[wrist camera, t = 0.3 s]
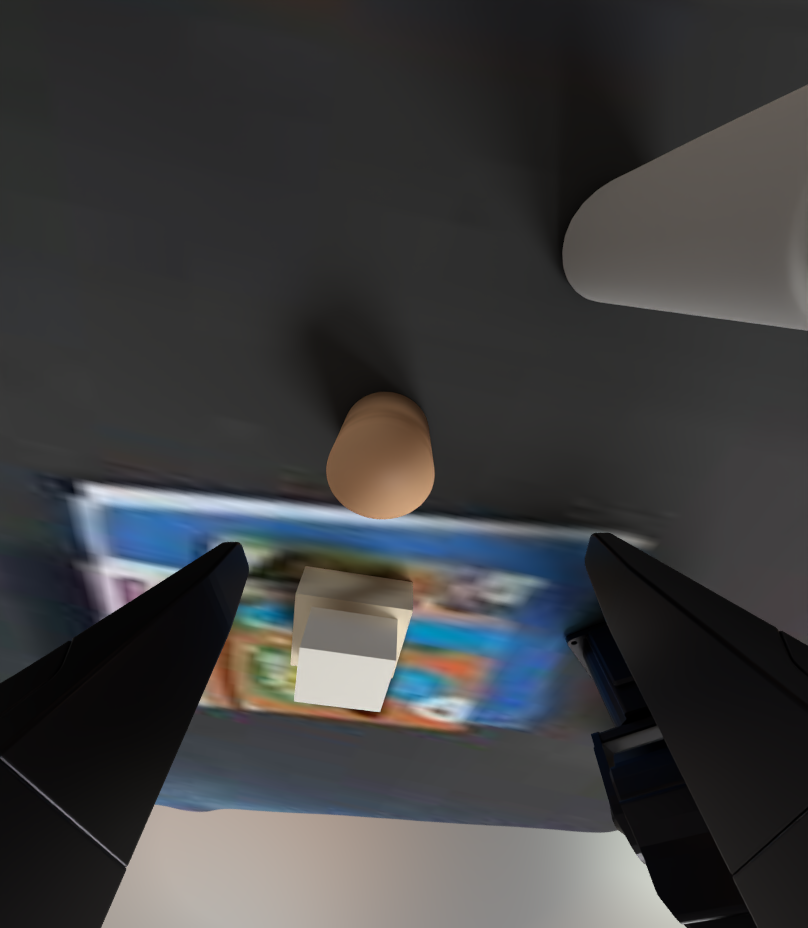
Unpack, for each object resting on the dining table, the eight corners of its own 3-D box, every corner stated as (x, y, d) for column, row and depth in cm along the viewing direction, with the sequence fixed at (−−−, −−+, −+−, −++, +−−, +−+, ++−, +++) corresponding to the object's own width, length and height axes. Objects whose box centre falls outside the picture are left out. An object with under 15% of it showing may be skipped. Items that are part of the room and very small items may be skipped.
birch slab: (412, 577, 27) (412, 610, 24) (393, 643, 30) (392, 678, 28) (307, 561, 26) (295, 593, 23) (301, 630, 30) (290, 664, 27)
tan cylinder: (444, 443, 21) (454, 488, 17) (377, 483, 22) (369, 534, 18) (397, 374, 19) (394, 403, 15) (326, 421, 20) (303, 462, 16)
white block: (397, 619, 25) (396, 660, 22) (382, 669, 27) (379, 712, 25) (311, 606, 24) (299, 647, 21) (305, 659, 27) (294, 701, 24)
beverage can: (537, 277, 17) (759, 280, 6) (598, 155, 15) (1098, -163, 4) (621, 317, 18) (946, 379, 7) (691, 206, 15) (1314, 53, 5)
